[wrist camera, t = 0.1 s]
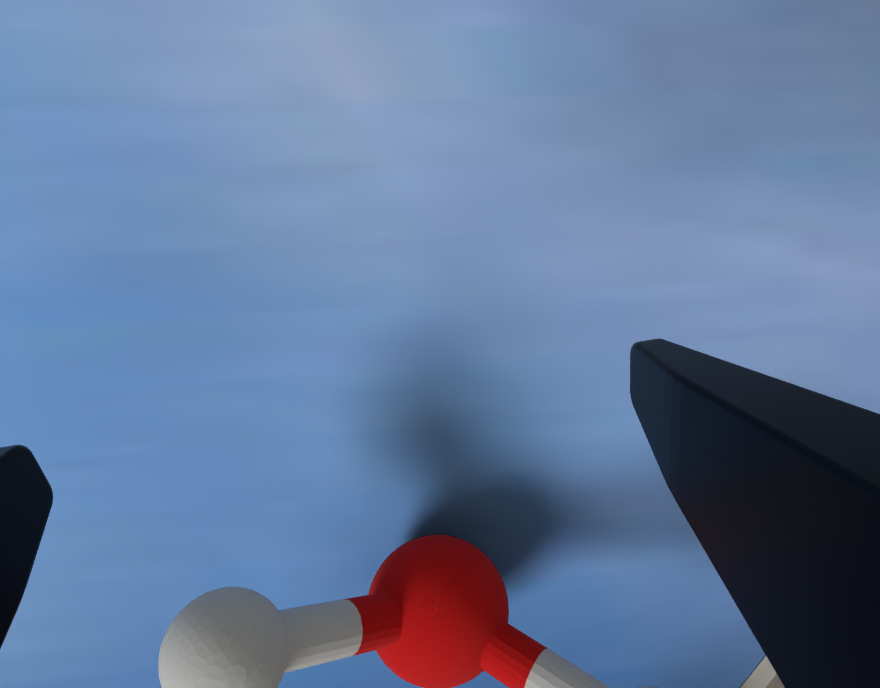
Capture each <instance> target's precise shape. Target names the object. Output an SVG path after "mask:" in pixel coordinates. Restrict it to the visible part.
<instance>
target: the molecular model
mask: <svg viewBox="0 0 880 688" xmlns="http://www.w3.org/2000/svg"><path fill="white" fill-rule="evenodd" d="M508 615H509V610H508V598H507V593H506V589H505V586H504V583H503V581H502V578H501V576H500V574H499V572H498V571H497V569H496V567H495V566H494V564H493V563H492V562H491V560H490V559H489V558H488V557H487V556H486V555H485V554H484V553H483V552H482V551H481V550H479V549H478V548H477V547H475V546H474V545H472V544H470V543H469V542H467V541H464V540H462V539H459V538H456V537H453V536H448V535H428V536H423V537H419V538H416V539H413V540H411V541H409V542H407V543H405V544H403V545H402V546H400V547H399V548H397V549H396V550H395V551H394V552H392V553H391V554H390V555H389V556H388V557H387V559H386V560H385V561H384V562H383V563H382V565H381V566H380V568H379V570H378V571H377V573H376V575H375V577H374V579H373V582H372V584H371V587H370V591H369V595H367V596H361V597H355V598H349V599H343V600H337V601H331V602H326V603H320V604H314V605H308V606H302V607H296V608H291V609H285V610H279V611H278V609H277V608H276V607H275V605H274V604H273V603H272V602H271V601H270V600H268V599H267V598H266V597H265V596H263V595H261V594H260V593H258V592H255V591H253V590H250V589H247V588H241V587H225V588H220V589H216V590H212V591H210V592H207V593H205V594H203V595H201V596H199V597H197V598H196V599H195V600H193V601H192V602H190V603H189V604H188V605H187V606H186V607H184V608H183V609H182V610H181V611H180V613H179V614H178V615H177V616H176V617H175V619H174V620H173V621H172V623H171V625H170V626H169V628H168V630H167V632H166V634H165V636H164V639H163V642H162V645H161V648H160V653H159V662H158V666H159V678H160V682H161V686H162V688H277V686H278V685H279V683H280V681H281V679H282V677H283V674H284V673H286V672H290V671H294V670H298V669H302V668H306V667H310V666H314V665H318V664H322V663H326V662H330V661H334V660H338V659H342V658H346V657H350V656H354V655H358V654H362V653H366V652H370V651H374V650H376V651H377V653H378V654H379V656H380V658H381V659H382V660H383V662H384V663H385V664H386V665H387V666H388V667H389V668H390V669H391V670H392V671H393V672H394V673H395V674H396V675H398V676H399V677H400V678H402V679H404V680H405V681H407V682H409V683H412V684H414V685H416V686H420V687H424V688H451V687H455V686H458V685H461V684H464V683H466V682H468V681H469V680H471V679H473V678H475V677H476V676H477V675H479V674H480V673H481V672H483V671H486V672H487V673H489V674H490V675H491V676H493V677H494V678H496V679H497V680H499V681H500V682H502V683H503V684H505V685H506V686H508V687H509V688H610V687H609V686H607V685H605V684H604V683H602V682H601V681H599V680H597V679H596V678H594V677H593V676H591V675H589V674H588V673H586V672H585V671H583V670H581V669H580V668H578V667H577V666H575V665H573V664H572V663H570V662H569V661H567V660H565V659H564V658H562V657H561V656H559V655H557V654H556V653H554V652H553V651H551V650H549V649H548V648H546V647H545V646H543V645H541V644H540V643H538V642H537V641H535V640H533V639H532V638H530V637H529V636H527V635H525V634H524V633H522V632H521V631H519V630H517V629H516V628H514V627H513V626H511V625H509V624H508ZM638 688H657V687H638Z"/></svg>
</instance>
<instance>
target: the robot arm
mask: <svg viewBox="0 0 880 688" xmlns="http://www.w3.org/2000/svg"><path fill="white" fill-rule="evenodd" d="M630 394H631V400H632V403H633V406H634V409H635V411H636V413H637V416H638V418H639V421H640V423H641V425H642V428H643V430H644V432H645V435H646V437H647V439H648V442H649V444H650V446H651V449H652V451H653V453H654V456H655V458H656V460H657V463H658V465H659V467H660V470H661V472H662V474H663V477H664V479H665V481H666V483H667V485H668V487H669V489H670V491H671V493H672V495H673V497H674V498H675V500H676V502H677V504H678V505H679V507H680V509H681V511H682V512H683V514H684V516H685V517H686V519H687V521H688V523H689V524H690V526H691V528H692V529H693V531H694V533H695V535H696V536H697V538H698V540H699V541H700V543H701V545H702V547H703V548H704V550H705V552H706V553H707V555H708V557H709V559H710V560H711V562H712V564H713V565H714V567H715V569H716V571H717V572H718V574H719V576H720V578H721V579H722V581H723V583H724V584H725V586H726V588H727V590H728V591H729V593H730V595H731V596H732V598H733V600H734V602H735V603H736V605H737V607H738V608H739V610H740V612H741V614H742V615H743V617H744V619H745V620H746V622H747V624H748V626H749V627H750V629H751V631H752V632H753V634H754V636H755V638H756V639H757V641H758V643H759V644H760V646H761V648H762V650H763V651H764V653H765V655H766V656H767V658H768V660H769V662H770V663H771V665H772V667H773V668H774V670H775V672H776V674H777V675H778V677H779V679H780V681H781V682H782V684H783V686H784V687H785V688H880V414H878V413H875V412H872V411H869V410H866V409H863V408H860V407H858V406H855V405H852V404H849V403H846V402H843V401H840V400H837V399H834V398H831V397H828V396H826V395H823V394H820V393H817V392H814V391H811V390H808V389H805V388H802V387H799V386H797V385H794V384H791V383H788V382H785V381H782V380H779V379H776V378H773V377H770V376H768V375H765V374H762V373H759V372H756V371H753V370H750V369H747V368H744V367H741V366H739V365H736V364H733V363H730V362H727V361H724V360H721V359H718V358H715V357H712V356H710V355H707V354H704V353H701V352H698V351H695V350H692V349H689V348H686V347H683V346H681V345H678V344H675V343H672V342H669V341H666V340H663V339H652V340H646V341H640V342H636V343H634V344H633V346H632V348H631V353H630ZM52 503H53V492H52V489H51V486H50V484H49V482H48V480H47V479H46V477H45V475H44V473H43V471H42V470H41V468H40V466H39V464H38V463H37V461H36V459H35V457H34V455H33V454H32V452H31V451H30V450H29V449H28V448H27V447H25V446H23V445H13V446H7V447H1V448H0V649H1V646H2V644H3V642H4V639H5V637H6V635H7V632H8V630H9V628H10V626H11V623H12V621H13V619H14V616H15V614H16V612H17V609H18V607H19V604H20V602H21V599H22V597H23V594H24V591H25V588H26V585H27V582H28V579H29V576H30V573H31V570H32V567H33V564H34V560H35V557H36V554H37V551H38V548H39V545H40V541H41V538H42V535H43V532H44V529H45V526H46V522H47V519H48V516H49V513H50V510H51V507H52Z"/></svg>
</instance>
